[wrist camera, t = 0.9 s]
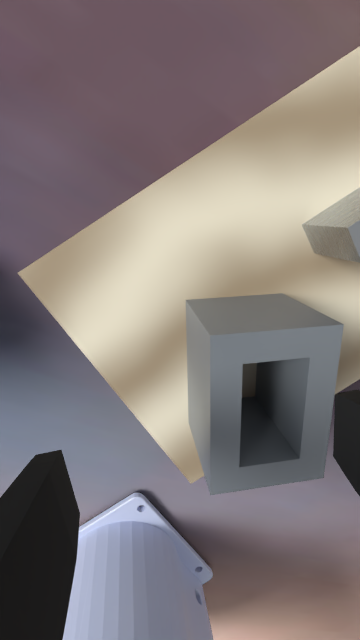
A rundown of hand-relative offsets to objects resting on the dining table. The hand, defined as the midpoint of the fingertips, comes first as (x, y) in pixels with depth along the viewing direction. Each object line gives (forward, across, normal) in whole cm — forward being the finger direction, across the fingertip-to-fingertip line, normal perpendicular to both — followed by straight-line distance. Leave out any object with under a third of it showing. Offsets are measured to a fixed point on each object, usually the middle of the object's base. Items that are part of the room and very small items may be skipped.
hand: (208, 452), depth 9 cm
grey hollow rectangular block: (+8, -3, +2) cm, 9 cm away
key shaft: (+10, -9, -5) cm, 14 cm away
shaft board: (+10, -6, -2) cm, 11 cm away
